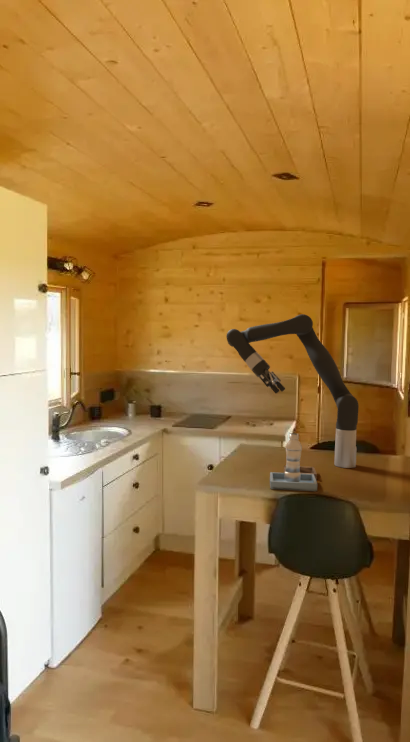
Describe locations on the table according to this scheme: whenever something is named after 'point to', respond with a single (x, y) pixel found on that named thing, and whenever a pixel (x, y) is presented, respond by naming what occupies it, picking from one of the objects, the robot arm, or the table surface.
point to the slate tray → (304, 484)
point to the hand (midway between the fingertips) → (280, 391)
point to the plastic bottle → (293, 459)
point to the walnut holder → (306, 470)
